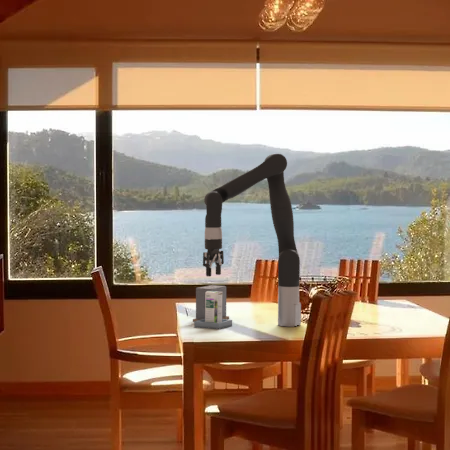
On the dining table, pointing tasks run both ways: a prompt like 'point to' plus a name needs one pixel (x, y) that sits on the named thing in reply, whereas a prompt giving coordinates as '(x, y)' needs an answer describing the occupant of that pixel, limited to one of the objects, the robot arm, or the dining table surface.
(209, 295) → the syrup box
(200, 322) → the tray
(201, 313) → the mounted unit
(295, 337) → the dining table surface
